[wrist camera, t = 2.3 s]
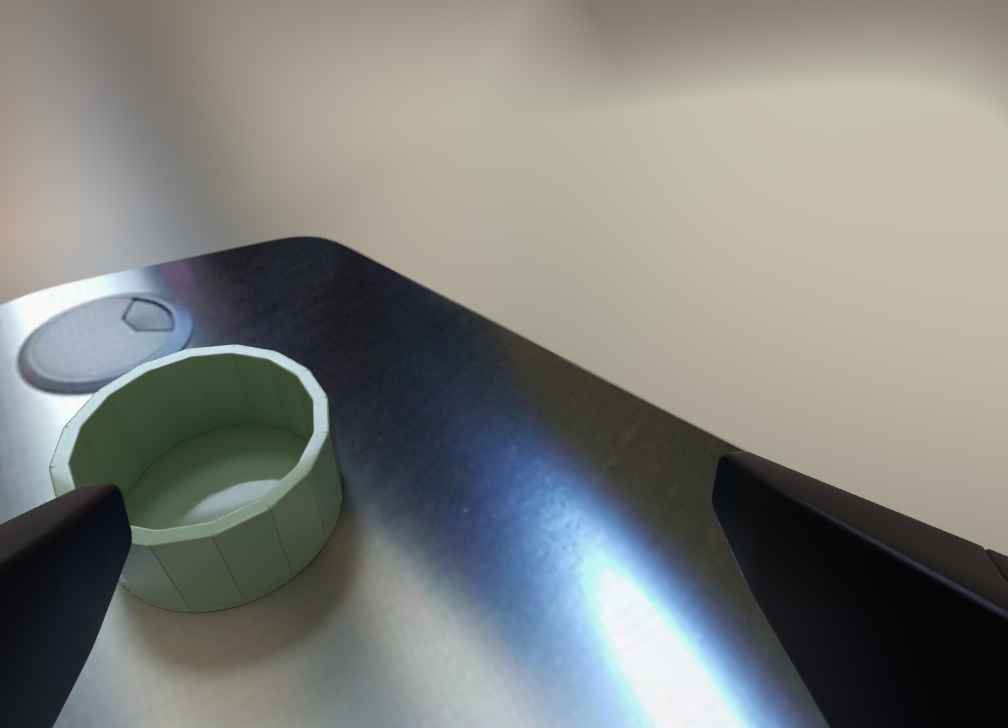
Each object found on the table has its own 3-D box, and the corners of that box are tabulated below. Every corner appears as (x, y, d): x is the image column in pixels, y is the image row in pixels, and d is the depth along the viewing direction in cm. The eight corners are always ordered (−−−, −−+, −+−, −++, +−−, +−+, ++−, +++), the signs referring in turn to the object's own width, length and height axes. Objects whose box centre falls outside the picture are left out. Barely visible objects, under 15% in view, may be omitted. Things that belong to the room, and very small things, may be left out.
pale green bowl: (386, 481, 27) (379, 407, 23) (215, 663, 21) (172, 600, 17) (241, 394, 30) (216, 317, 26) (56, 531, 24) (-9, 454, 20)
